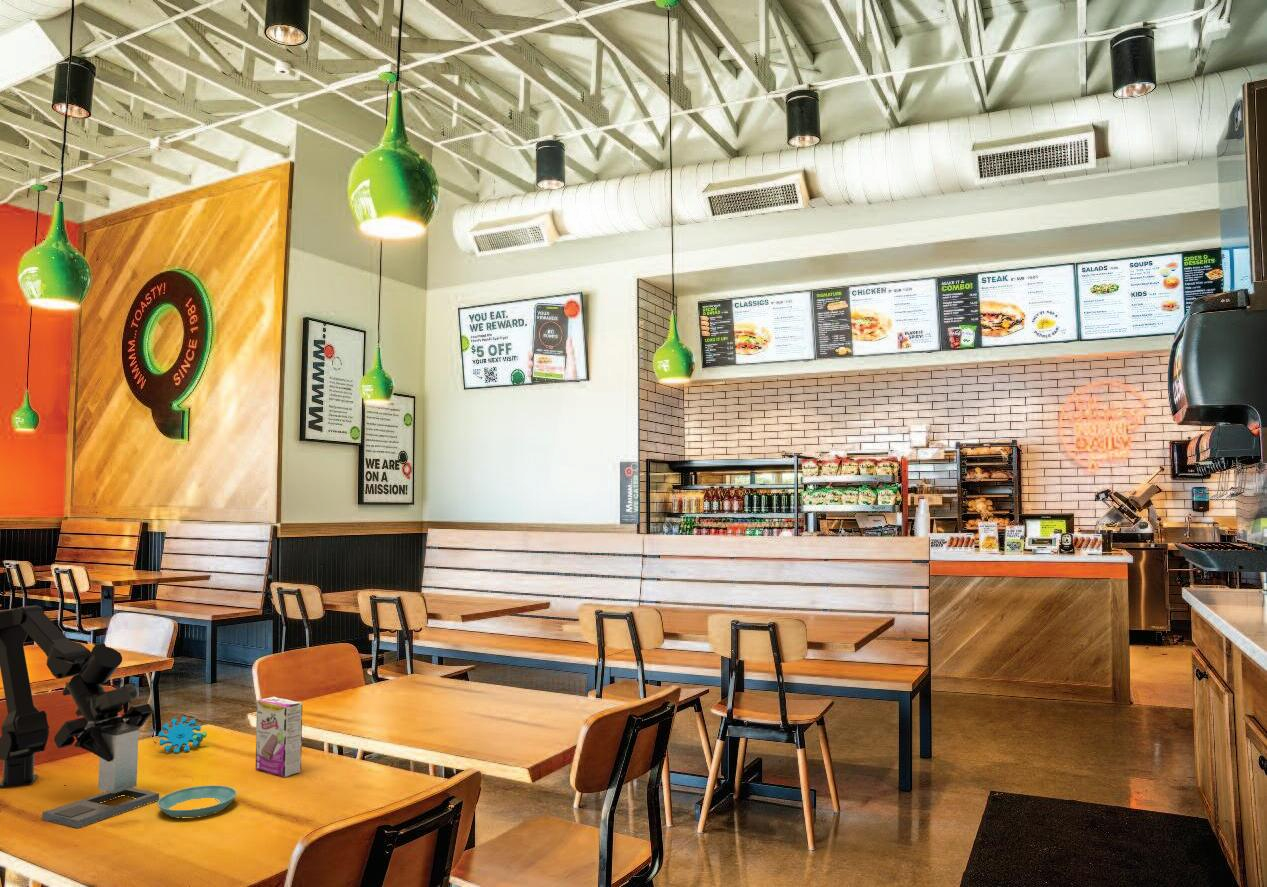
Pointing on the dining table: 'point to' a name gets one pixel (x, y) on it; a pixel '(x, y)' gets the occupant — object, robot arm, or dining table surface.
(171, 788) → the dining table surface
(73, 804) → the grey slotted plate
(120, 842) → the dining table surface
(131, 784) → the grey tall block
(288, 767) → the candy bar box
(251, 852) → the dining table surface
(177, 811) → the saucer
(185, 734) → the gear
